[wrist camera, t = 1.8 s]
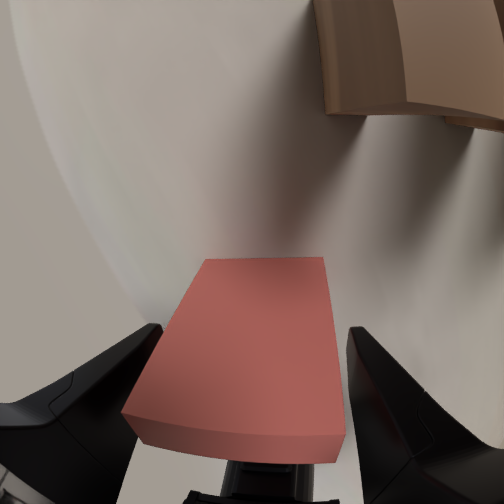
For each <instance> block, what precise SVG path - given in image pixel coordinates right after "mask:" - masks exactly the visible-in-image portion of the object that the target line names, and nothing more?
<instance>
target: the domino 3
mask: <svg viewBox="0 0 504 504" xmlns="http://www.w3.org/2000/svg"><path fill="white" fill-rule="evenodd" d="M493 2H494V5H495V9H496V12H497V16H498V20H499V24H500V28H501V32H502V37H503V42H504V0H493ZM445 123H448V124H455V125H461V126H466V127H472V128H478V129H484V130H490V131H495V132H501V133H504V121H500V120H492V119H483V118H473V117H460V116H445Z"/></svg>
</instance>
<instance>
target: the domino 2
mask: <svg viewBox="0 0 504 504" xmlns="http://www.w3.org/2000/svg"><path fill="white" fill-rule="evenodd" d="M313 6H314V13H315V20H316V27H317V34H318V42H319V50H320V59H321V69H322V79H323V90H324V103H325V114H330V115H443V116H460V117H473V118H483V119H492V120H500V121H504V42H503V37H502V32H501V28H500V24H499V20H498V16H497V12H496V9H495V5H494V2H493V0H313Z"/></svg>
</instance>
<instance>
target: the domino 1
mask: <svg viewBox="0 0 504 504" xmlns="http://www.w3.org/2000/svg"><path fill="white" fill-rule="evenodd" d="M121 413H122V415H123V416H124V418H125V419H126V421H127V422H128V423H129V425H130V426H131V428H132V429H133V430H134V432H135V433H136V434H137V436H138V437H139V438H140V440H141V441H142V442H143V444H146V445H150V446H154V447H158V448H163V449H167V450H172V451H176V452H181V453H187V454H193V455H198V456H205V457H211V458H218V459H226V460H235V461H245V462H258V463H278V464H320V463H336V460H337V457H338V455H339V452H340V449H341V446H342V444H343V441H344V438H345V435H346V429H345V416H344V404H343V394H342V384H341V374H340V366H339V357H338V349H337V342H336V334H335V327H334V320H333V313H332V307H331V300H330V294H329V288H328V282H327V276H326V271H325V265H324V259H323V257H303V258H251V259H205V261H204V263H203V264H202V266H201V268H200V270H199V271H198V273H197V275H196V276H195V278H194V280H193V282H192V283H191V285H190V287H189V288H188V290H187V292H186V294H185V295H184V297H183V299H182V301H181V302H180V304H179V306H178V308H177V309H176V311H175V313H174V315H173V316H172V318H171V320H170V322H169V324H168V325H167V327H166V329H165V331H164V333H163V334H162V336H161V338H160V340H159V342H158V343H157V345H156V347H155V349H154V351H153V352H152V354H151V356H150V358H149V360H148V362H147V364H146V365H145V367H144V369H143V371H142V373H141V375H140V377H139V378H138V380H137V382H136V384H135V386H134V388H133V390H132V392H131V394H130V396H129V397H128V399H127V401H126V403H125V405H124V407H123V409H122V411H121Z"/></svg>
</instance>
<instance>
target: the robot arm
mask: <svg viewBox="0 0 504 504" xmlns="http://www.w3.org/2000/svg"><path fill="white" fill-rule="evenodd" d="M163 333H164V332H163V329H162V326H161V325H160V324H156V323H149V324H147V325H145V326H144V327H142V328H140V329H139V330H137V331H136V332H134V333H133V334H131V335H129V336H128V337H126V338H125V339H123V340H121V341H120V342H118V343H117V344H115V345H114V346H112V347H110V348H109V349H107V350H106V351H104V352H102V353H101V354H99V355H98V356H96V357H94V358H93V359H91V360H90V361H88V362H87V363H85V364H83V365H82V366H80V367H78V368H77V369H75V370H74V371H72V372H70V373H69V374H67V375H66V376H64V377H62V378H61V379H59V380H57V381H56V382H54V383H52V384H50V385H48V386H46V387H44V388H42V389H41V390H39V391H37V392H35V393H33V394H31V395H29V396H27V397H25V398H23V399H21V400H18V401H16V402H13V403H0V504H116V502H117V499H118V496H119V493H120V490H121V487H122V483H123V480H124V477H125V474H126V471H127V468H128V465H129V462H130V459H131V456H132V453H133V450H134V448H135V444H136V442H137V439H138V436H137V434H136V433H135V432H134V430H133V429H132V428H131V426H130V425H129V423H128V422H127V421H126V419H125V418H124V416H123V415H122V413H121V411H122V409H123V407H124V405H125V403H126V401H127V399H128V397H129V396H130V394H131V392H132V390H133V388H134V386H135V384H136V382H137V380H138V378H139V377H140V375H141V373H142V371H143V369H144V367H145V365H146V364H147V362H148V360H149V358H150V356H151V354H152V352H153V351H154V349H155V347H156V345H157V343H158V342H159V340H160V338H161V336H162V334H163ZM346 355H347V371H348V389H349V398H350V404H351V410H352V416H353V422H354V429H355V435H356V442H357V449H358V456H359V464H360V472H361V481H362V490H363V499H364V504H504V449H498V448H494V447H491V446H489V445H487V444H485V443H484V442H482V441H481V440H480V439H478V438H477V437H476V436H475V435H474V434H472V433H471V432H470V431H469V430H468V429H466V428H465V427H464V426H463V425H462V424H460V423H459V422H458V421H457V420H456V419H454V418H453V417H452V416H451V415H450V414H449V413H448V412H446V411H445V410H444V409H443V408H442V407H441V406H440V405H439V404H438V403H437V402H436V401H435V400H434V399H433V398H432V397H431V396H430V395H429V394H428V393H427V392H426V391H425V392H424V389H423V388H422V387H421V386H420V385H419V383H418V382H417V381H416V380H415V379H414V378H413V377H412V376H411V375H410V374H409V373H408V372H407V371H406V370H405V369H404V368H403V367H402V366H401V365H400V364H399V363H398V362H397V361H396V360H395V359H394V358H393V357H392V356H391V355H390V354H389V353H388V352H387V351H386V350H385V349H384V348H383V347H382V346H381V345H380V343H379V342H378V341H377V340H376V339H375V338H374V337H373V336H372V335H371V334H370V333H369V332H368V331H367V330H366V329H365V328H364V327H361V326H359V327H350V329H349V333H348V340H347V347H346ZM313 487H314V464H278V463H258V462H245V461H235V460H228V462H227V467H226V471H225V476H224V480H223V484H222V489H221V493H220V496H214V495H208V494H202V493H200V492H198V491H193V490H191V491H190V492H189V494H188V497H187V499H185V500H184V502H183V504H340V501H339V499H334V500H329V501H322V502H313Z"/></svg>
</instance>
